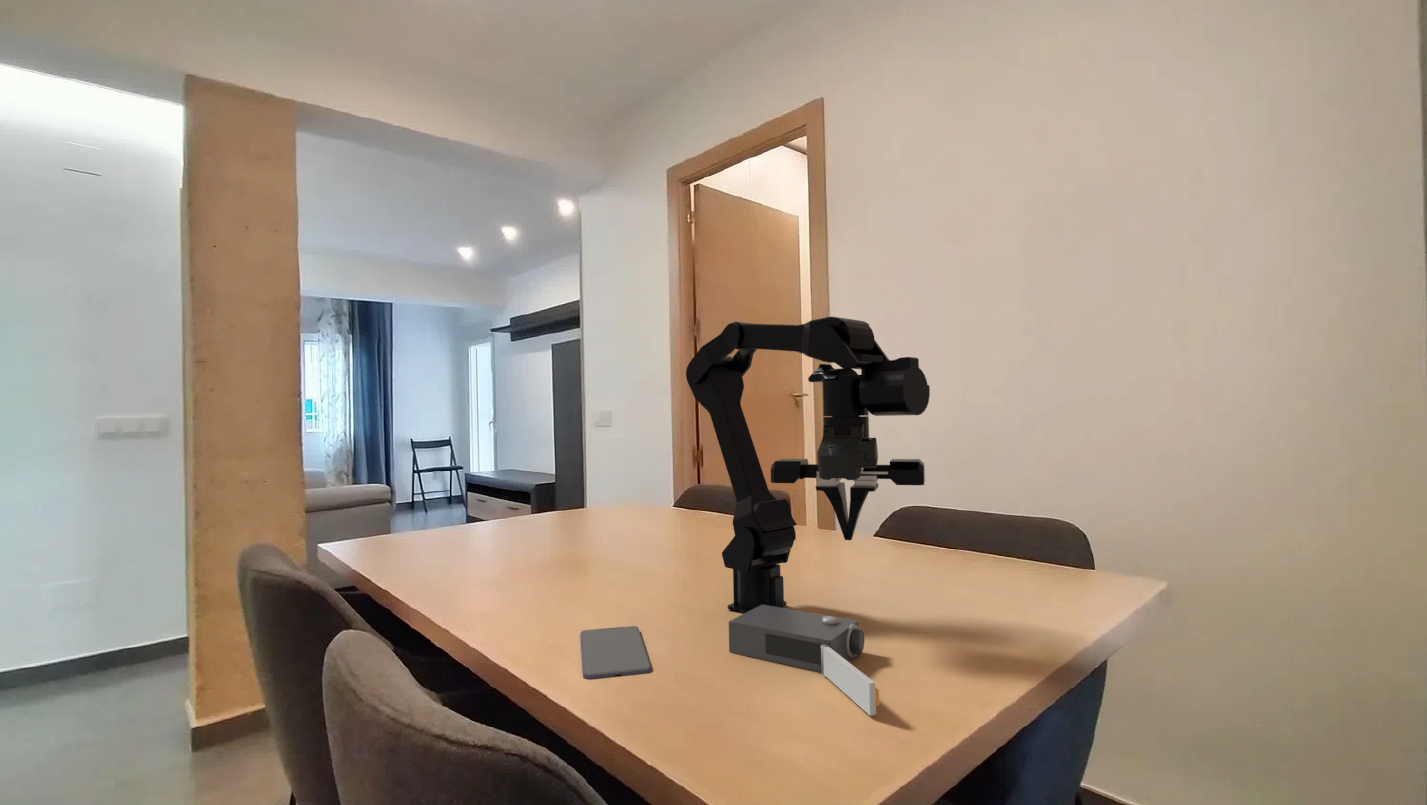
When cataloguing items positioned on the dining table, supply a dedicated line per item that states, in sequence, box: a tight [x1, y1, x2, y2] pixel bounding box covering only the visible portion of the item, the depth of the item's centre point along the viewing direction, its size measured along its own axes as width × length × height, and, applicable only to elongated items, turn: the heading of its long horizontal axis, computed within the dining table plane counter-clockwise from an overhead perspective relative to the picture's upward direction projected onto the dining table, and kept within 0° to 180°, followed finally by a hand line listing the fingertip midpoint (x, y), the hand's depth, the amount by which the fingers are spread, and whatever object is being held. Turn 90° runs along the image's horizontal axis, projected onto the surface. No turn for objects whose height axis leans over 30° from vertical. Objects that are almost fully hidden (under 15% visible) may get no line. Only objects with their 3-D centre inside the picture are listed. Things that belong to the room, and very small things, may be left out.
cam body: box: [728, 605, 865, 673], centre depth 76 cm, size 14×8×4 cm, turn 56°
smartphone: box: [579, 625, 653, 680], centre depth 77 cm, size 8×1×15 cm
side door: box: [820, 644, 880, 717], centre depth 64 cm, size 11×1×3 cm, turn 15°
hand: (848, 539), depth 82 cm, fingers closed
